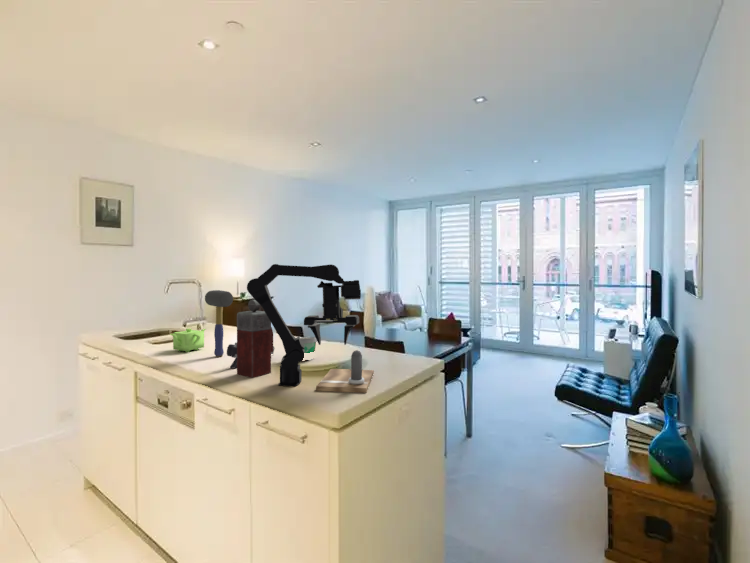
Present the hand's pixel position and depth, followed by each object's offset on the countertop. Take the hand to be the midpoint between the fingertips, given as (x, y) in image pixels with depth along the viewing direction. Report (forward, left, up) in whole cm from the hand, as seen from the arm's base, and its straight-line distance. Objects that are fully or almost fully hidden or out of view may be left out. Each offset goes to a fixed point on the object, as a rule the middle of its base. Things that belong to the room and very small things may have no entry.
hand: (332, 344), depth 137 cm
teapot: (-80, +44, -13) cm, 92 cm away
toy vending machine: (-31, +8, -13) cm, 35 cm away
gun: (-39, +22, -14) cm, 47 cm away
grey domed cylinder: (+9, -5, -12) cm, 16 cm away
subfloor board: (+5, +1, -13) cm, 14 cm away
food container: (-19, +31, -13) cm, 39 cm away
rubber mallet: (-59, +33, -13) cm, 69 cm away
